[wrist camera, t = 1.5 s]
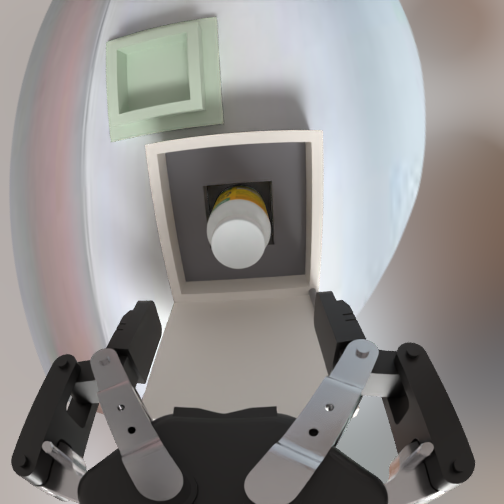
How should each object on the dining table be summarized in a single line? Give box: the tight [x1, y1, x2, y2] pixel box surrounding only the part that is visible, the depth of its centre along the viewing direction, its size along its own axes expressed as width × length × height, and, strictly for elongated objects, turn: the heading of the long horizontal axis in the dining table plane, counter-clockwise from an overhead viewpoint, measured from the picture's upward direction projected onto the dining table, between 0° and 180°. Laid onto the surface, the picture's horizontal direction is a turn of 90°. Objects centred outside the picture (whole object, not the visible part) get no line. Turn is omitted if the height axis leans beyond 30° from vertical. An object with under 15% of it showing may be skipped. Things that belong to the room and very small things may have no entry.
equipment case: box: [143, 130, 359, 420], centre depth 20 cm, size 17×15×19 cm
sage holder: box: [106, 17, 224, 142], centre depth 21 cm, size 12×12×3 cm
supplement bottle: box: [207, 185, 271, 269], centre depth 24 cm, size 5×5×10 cm
